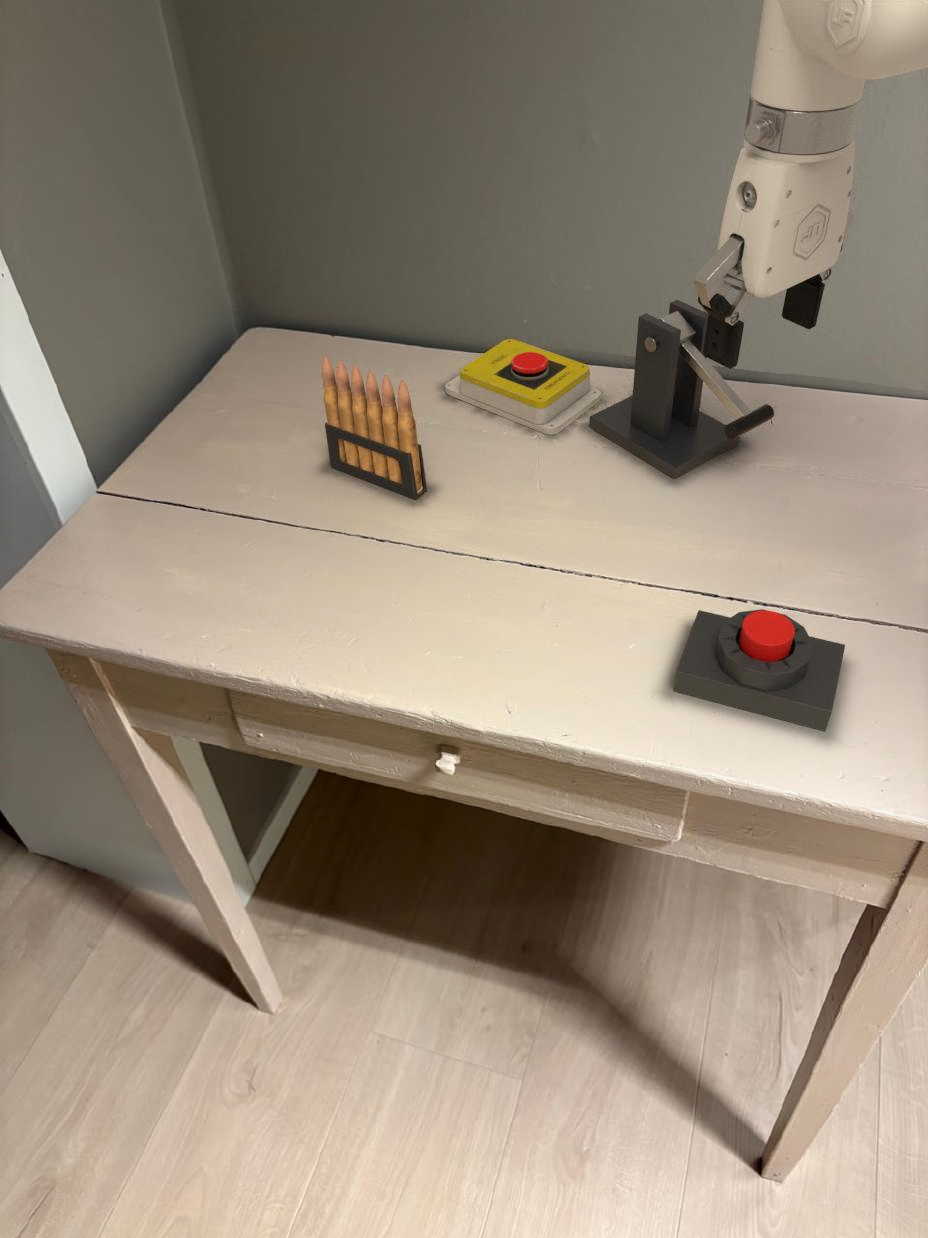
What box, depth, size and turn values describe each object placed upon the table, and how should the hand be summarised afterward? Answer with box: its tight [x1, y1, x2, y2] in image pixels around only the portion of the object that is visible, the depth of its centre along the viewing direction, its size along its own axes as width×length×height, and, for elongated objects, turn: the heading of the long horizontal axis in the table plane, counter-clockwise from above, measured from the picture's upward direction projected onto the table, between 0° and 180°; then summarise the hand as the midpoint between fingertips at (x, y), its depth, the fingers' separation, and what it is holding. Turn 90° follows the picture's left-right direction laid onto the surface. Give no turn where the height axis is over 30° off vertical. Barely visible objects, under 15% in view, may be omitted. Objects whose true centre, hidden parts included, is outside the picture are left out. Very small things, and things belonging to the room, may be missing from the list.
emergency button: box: [444, 338, 602, 436], centre depth 102 cm, size 9×4×15 cm
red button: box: [739, 609, 795, 662], centre depth 69 cm, size 4×4×2 cm
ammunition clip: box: [321, 355, 428, 501], centre depth 89 cm, size 11×2×12 cm, turn 55°
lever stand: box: [588, 299, 741, 480], centre depth 92 cm, size 12×9×13 cm
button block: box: [673, 608, 846, 732], centre depth 71 cm, size 11×7×4 cm, turn 67°
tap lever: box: [659, 311, 775, 439], centre depth 87 cm, size 13×5×2 cm, turn 37°
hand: (759, 341), depth 81 cm, fingers open, 9 cm apart
